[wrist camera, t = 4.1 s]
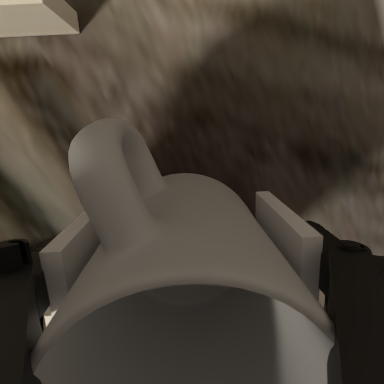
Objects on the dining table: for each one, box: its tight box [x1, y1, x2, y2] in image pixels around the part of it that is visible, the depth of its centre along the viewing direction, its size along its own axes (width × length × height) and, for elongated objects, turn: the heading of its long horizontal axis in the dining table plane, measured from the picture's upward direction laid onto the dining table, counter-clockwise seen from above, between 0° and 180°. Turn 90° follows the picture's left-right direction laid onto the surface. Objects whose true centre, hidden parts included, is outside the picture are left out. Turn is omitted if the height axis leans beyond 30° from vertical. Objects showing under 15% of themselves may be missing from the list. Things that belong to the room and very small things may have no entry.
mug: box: [31, 118, 335, 384], centre depth 12 cm, size 12×8×11 cm
